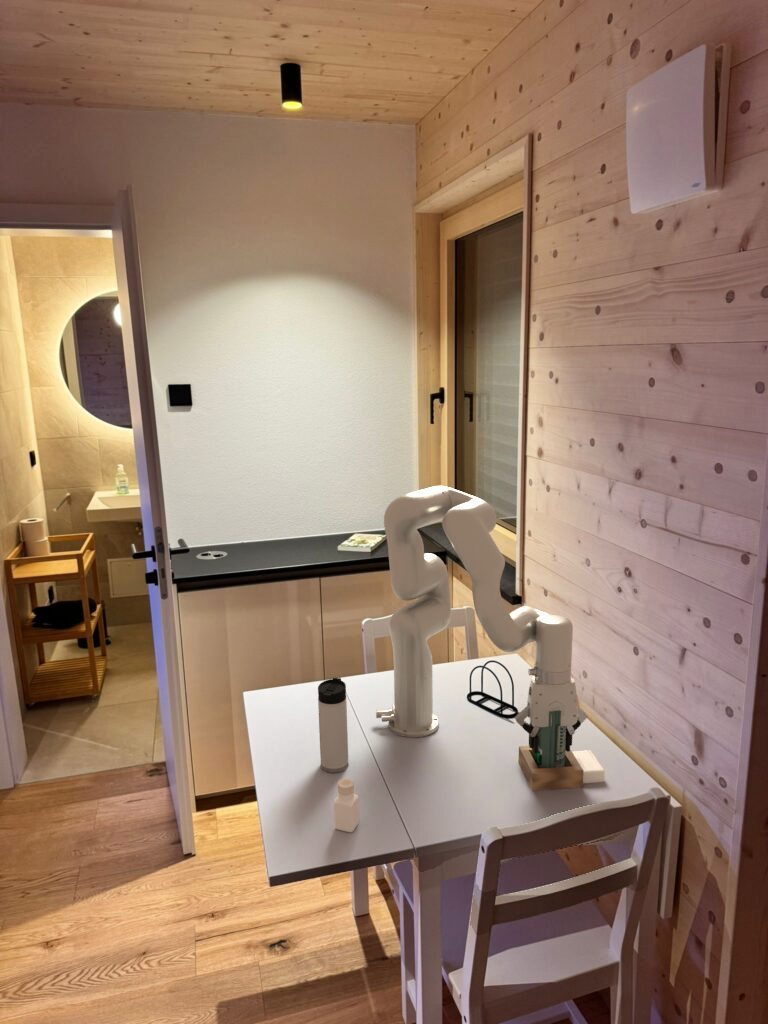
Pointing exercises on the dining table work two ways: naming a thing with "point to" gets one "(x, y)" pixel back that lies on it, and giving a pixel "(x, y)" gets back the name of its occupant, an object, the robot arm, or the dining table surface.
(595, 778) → the soap
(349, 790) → the pepper shaker
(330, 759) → the travel mug
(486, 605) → the robot arm
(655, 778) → the dining table surface
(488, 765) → the dining table surface
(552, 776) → the socket
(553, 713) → the can
